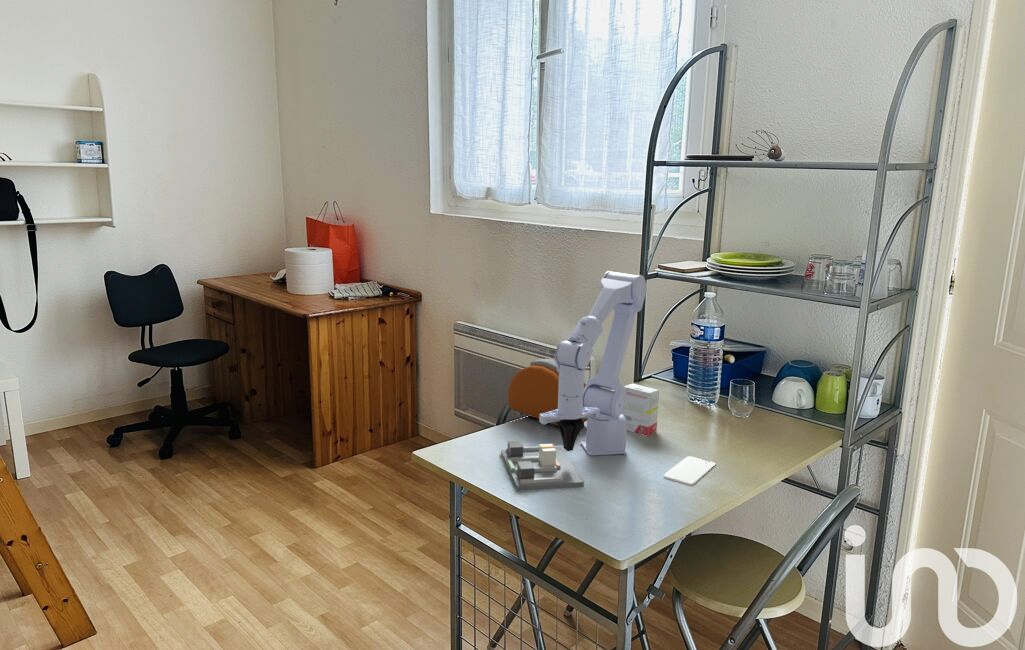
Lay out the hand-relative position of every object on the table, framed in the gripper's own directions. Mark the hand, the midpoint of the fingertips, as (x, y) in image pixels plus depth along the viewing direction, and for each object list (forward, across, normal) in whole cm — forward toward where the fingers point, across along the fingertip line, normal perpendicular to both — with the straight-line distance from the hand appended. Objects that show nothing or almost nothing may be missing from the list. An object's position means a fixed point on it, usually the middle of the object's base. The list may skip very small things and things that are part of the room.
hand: (568, 449), depth 175 cm
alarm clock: (+5, -10, -31) cm, 33 cm away
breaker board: (+5, +6, -1) cm, 8 cm away
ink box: (+5, -29, -15) cm, 33 cm away
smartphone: (+5, -26, +11) cm, 29 cm away
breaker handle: (+3, +5, -1) cm, 6 cm away
